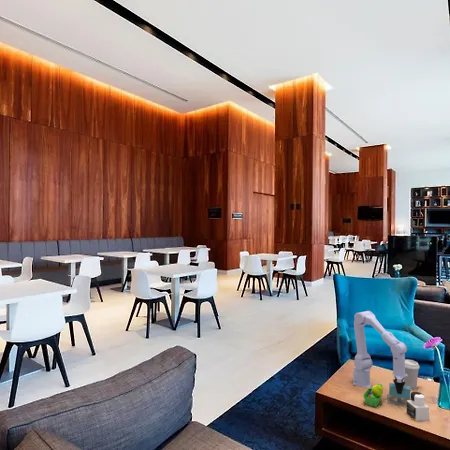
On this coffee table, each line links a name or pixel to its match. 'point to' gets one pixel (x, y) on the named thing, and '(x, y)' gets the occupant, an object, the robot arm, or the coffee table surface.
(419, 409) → the medicine bottle
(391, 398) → the pillar near arm
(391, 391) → the lintel
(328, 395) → the coffee table surface
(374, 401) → the fruit basket
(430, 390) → the coffee table surface
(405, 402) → the pillar far
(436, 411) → the coffee table surface
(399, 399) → the build plate
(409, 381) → the coffee cup
